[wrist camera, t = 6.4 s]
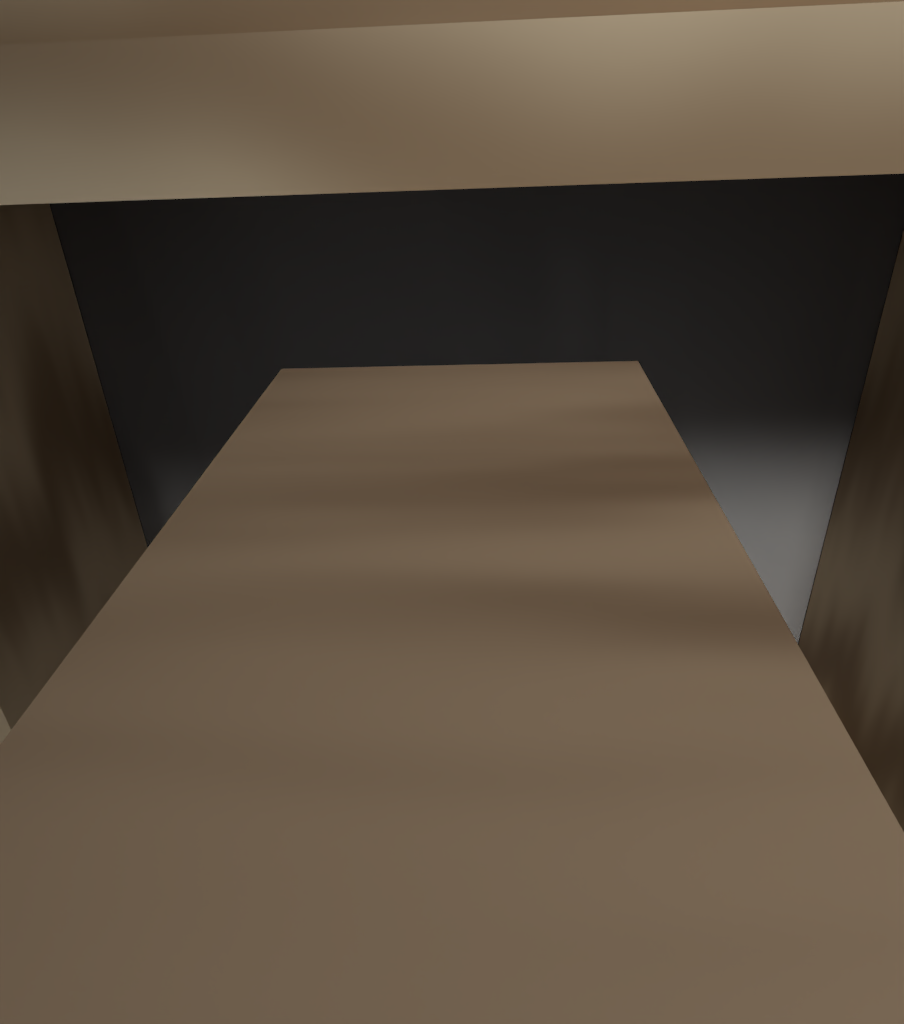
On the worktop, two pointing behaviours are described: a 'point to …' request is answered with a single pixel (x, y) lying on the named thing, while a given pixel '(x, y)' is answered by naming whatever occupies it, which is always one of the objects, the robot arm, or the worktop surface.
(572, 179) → the wooden crate
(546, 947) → the block
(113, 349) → the worktop surface
